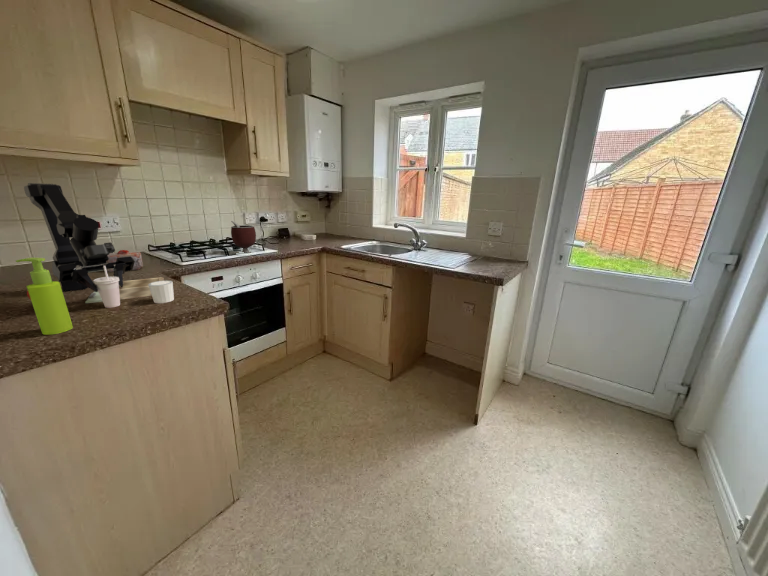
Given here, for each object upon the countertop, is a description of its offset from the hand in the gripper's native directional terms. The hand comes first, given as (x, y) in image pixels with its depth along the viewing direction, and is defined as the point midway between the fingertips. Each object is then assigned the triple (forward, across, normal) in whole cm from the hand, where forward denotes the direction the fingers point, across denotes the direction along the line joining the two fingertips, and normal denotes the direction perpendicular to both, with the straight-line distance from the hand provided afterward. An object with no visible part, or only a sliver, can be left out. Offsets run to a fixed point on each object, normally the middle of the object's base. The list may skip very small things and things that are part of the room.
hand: (110, 288), depth 99 cm
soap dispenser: (+10, -16, 0) cm, 19 cm away
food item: (-36, +25, +46) cm, 63 cm away
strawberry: (-7, -12, +16) cm, 22 cm away
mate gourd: (-31, +84, +40) cm, 98 cm away
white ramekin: (+10, +12, 0) cm, 15 cm away
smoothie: (+4, 0, +6) cm, 7 cm away
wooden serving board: (-2, +12, +12) cm, 17 cm away
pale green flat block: (-6, +2, +15) cm, 16 cm away
